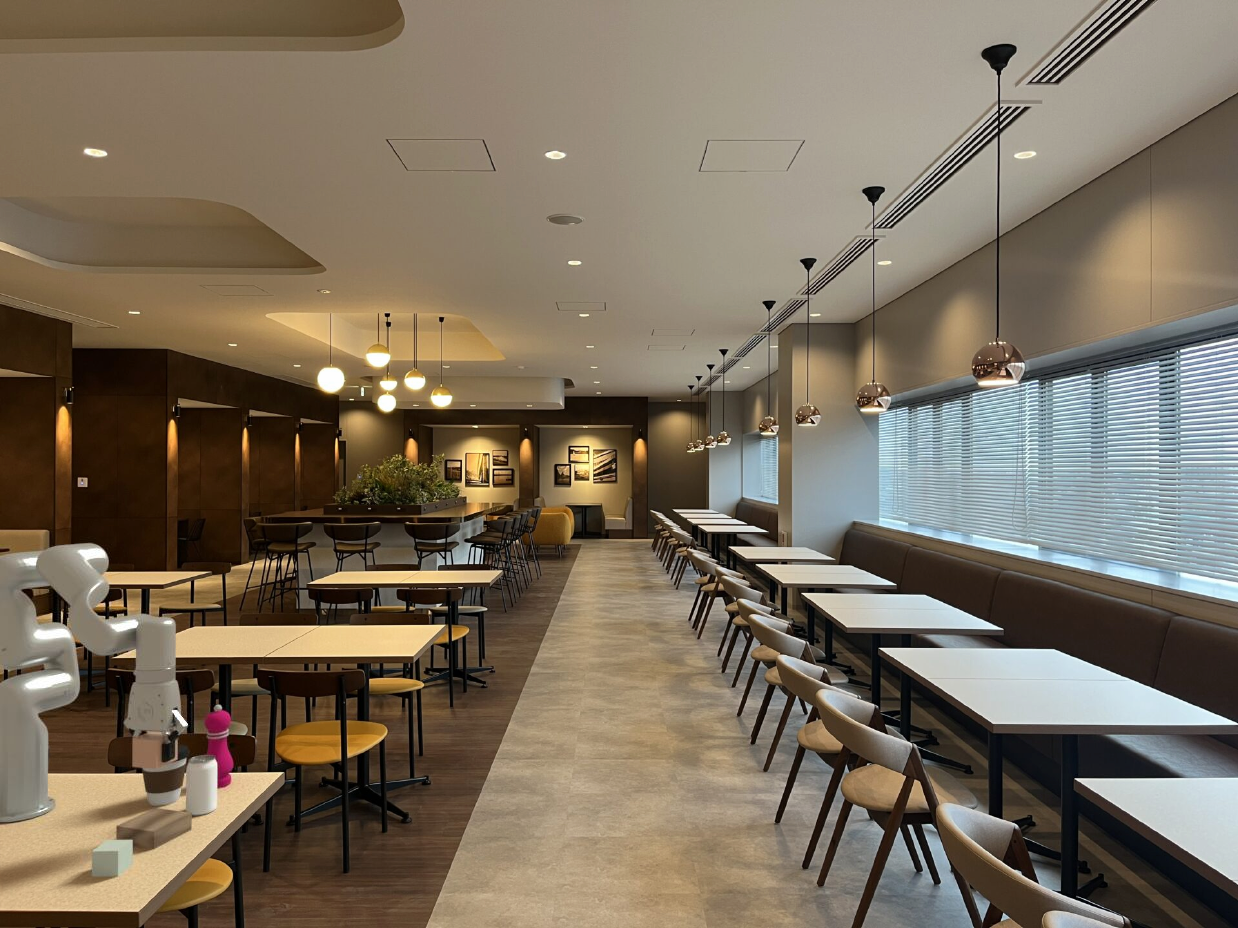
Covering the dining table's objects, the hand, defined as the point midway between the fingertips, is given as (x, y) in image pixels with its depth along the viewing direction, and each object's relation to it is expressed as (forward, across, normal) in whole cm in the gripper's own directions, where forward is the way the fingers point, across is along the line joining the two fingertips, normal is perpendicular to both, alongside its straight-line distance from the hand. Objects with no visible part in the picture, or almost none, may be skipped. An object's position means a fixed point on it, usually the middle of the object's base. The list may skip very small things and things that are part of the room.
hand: (155, 758), depth 178 cm
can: (+17, 0, +14) cm, 22 cm away
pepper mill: (+17, -8, +29) cm, 35 cm away
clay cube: (+1, 0, 0) cm, 1 cm away
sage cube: (+17, +4, -15) cm, 23 cm away
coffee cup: (+17, -13, +17) cm, 27 cm away
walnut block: (+17, 0, 0) cm, 17 cm away
